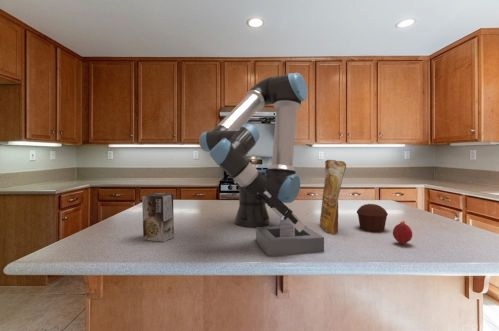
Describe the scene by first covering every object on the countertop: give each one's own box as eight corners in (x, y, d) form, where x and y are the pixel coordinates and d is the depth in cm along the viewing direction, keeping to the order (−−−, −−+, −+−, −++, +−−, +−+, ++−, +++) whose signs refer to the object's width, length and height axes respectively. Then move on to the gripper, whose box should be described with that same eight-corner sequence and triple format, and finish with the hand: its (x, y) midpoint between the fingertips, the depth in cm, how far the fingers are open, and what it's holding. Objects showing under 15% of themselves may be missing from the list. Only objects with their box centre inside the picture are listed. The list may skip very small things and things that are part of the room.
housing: (256, 239, 98) (256, 227, 98) (303, 236, 102) (303, 224, 102) (268, 256, 83) (268, 241, 82) (324, 251, 86) (324, 237, 86)
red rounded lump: (411, 248, 89) (412, 223, 89) (391, 245, 92) (392, 221, 92) (412, 243, 94) (412, 220, 94) (393, 240, 97) (393, 218, 97)
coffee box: (174, 237, 102) (174, 193, 101) (163, 242, 96) (163, 196, 95) (154, 234, 105) (153, 192, 104) (142, 239, 99) (141, 194, 98)
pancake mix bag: (332, 223, 122) (332, 159, 121) (346, 235, 103) (347, 160, 102) (316, 222, 122) (317, 159, 121) (328, 235, 103) (329, 160, 102)
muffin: (392, 229, 112) (392, 204, 111) (381, 235, 104) (382, 208, 104) (362, 224, 120) (363, 201, 120) (351, 229, 113) (351, 204, 112)
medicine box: (293, 246, 88) (294, 219, 88) (279, 245, 89) (279, 219, 88) (294, 239, 96) (294, 214, 95) (281, 238, 97) (281, 213, 96)
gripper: (235, 183, 100) (275, 222, 104) (250, 193, 76) (301, 243, 80) (250, 169, 101) (289, 208, 105) (268, 173, 77) (318, 224, 81)
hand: (294, 223), depth 92 cm, fingers open, 13 cm apart
